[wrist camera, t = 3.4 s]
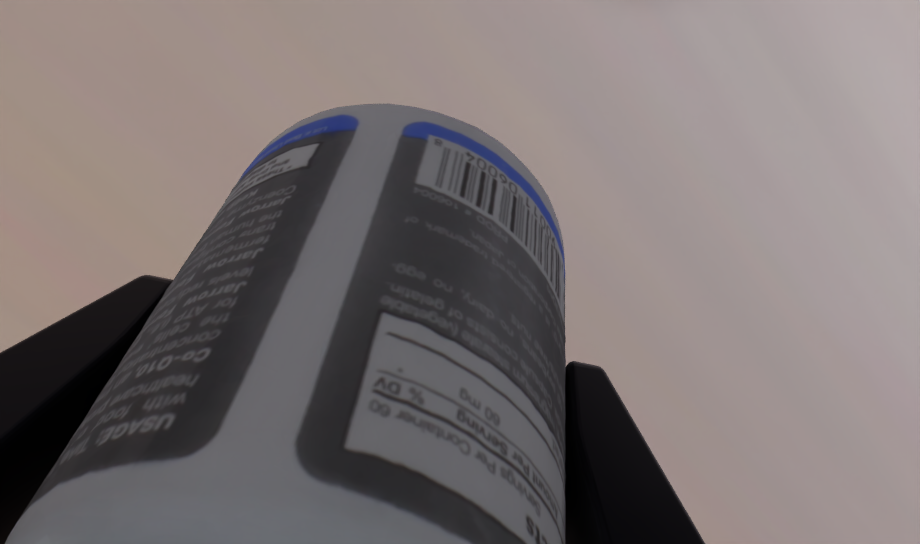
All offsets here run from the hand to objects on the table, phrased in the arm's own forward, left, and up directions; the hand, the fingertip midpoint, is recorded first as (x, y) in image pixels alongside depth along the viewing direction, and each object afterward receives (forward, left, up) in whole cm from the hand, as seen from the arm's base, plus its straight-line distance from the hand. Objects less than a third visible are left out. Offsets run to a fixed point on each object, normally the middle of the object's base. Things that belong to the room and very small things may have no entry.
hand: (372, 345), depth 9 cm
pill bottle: (0, 0, -2) cm, 2 cm away
